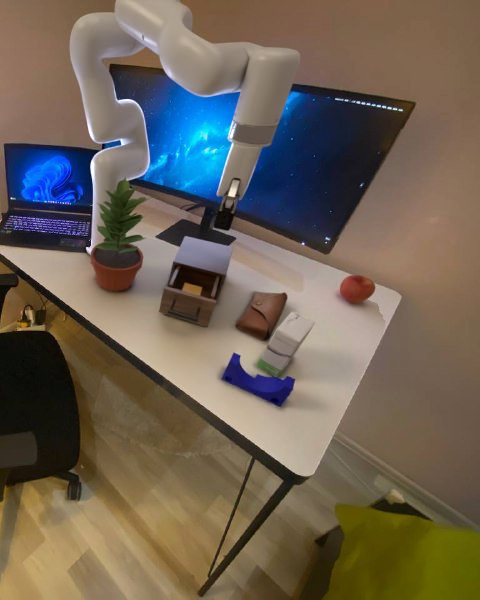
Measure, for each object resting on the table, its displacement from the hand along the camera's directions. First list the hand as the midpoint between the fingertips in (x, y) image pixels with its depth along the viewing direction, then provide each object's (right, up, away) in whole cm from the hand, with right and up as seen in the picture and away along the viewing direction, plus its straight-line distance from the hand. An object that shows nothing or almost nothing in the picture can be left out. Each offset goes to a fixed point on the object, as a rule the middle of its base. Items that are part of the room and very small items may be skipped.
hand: (224, 218), depth 74 cm
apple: (+44, -17, +22) cm, 52 cm away
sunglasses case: (+16, -22, +17) cm, 32 cm away
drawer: (-3, -20, +17) cm, 26 cm away
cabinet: (+3, -12, +27) cm, 30 cm away
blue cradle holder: (+6, -36, 0) cm, 36 cm away
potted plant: (-21, -12, +27) cm, 36 cm away
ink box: (+14, -32, +5) cm, 35 cm away
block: (-2, -18, +17) cm, 25 cm away
